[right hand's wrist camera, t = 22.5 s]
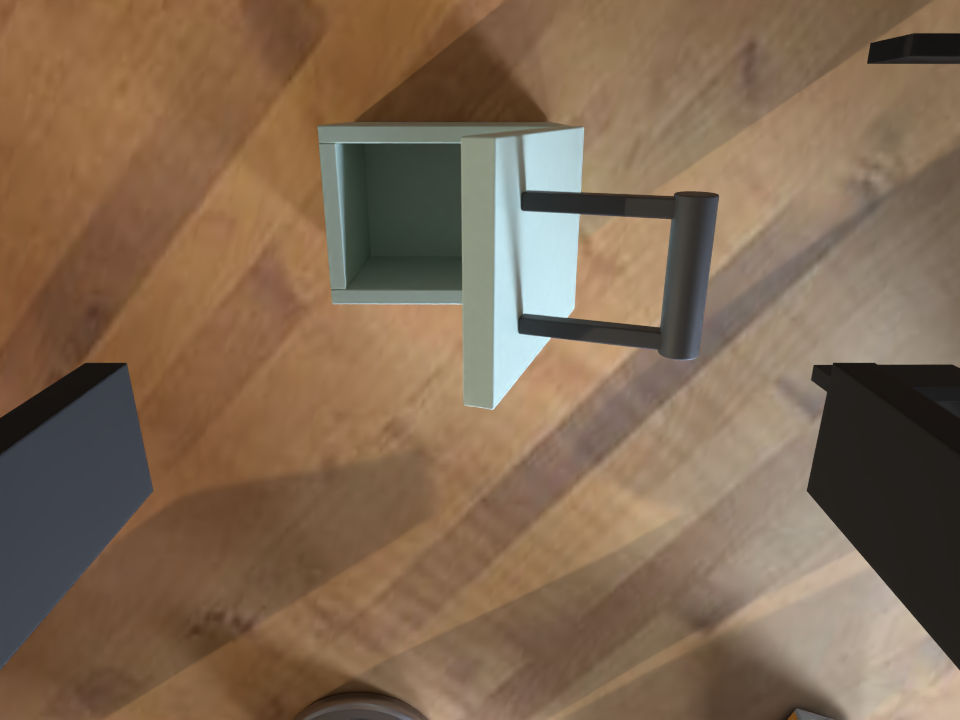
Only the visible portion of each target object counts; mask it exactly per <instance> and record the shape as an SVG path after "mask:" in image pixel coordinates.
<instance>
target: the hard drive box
mask: <svg viewBox="0 0 960 720" xmlns="http://www.w3.org/2000/svg"><path fill="white" fill-rule="evenodd" d="M788 720H834V719H831V718H827V717H824V716H821V715H817V714H814V713H811V712H808V711H804V710H801V709H796V710H795V711H794V712H793V713H792V714H791V716H790V717H789V718H788Z"/></svg>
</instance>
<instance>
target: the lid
mask: <svg viewBox="0 0 960 720" xmlns="http://www.w3.org/2000/svg"><path fill="white" fill-rule="evenodd" d="M583 140H584V127H583V126H557V127H547V128H537V129H527V130H517V131H508V132H498V133H488V134H478V135H468V136H462V137H461V201H462V312H463V404H464V405H466V406H473V407H479V408H486V409H494V408H495V407H496V406H497V404H498V403H499V402H500V401H501V399H502V398H503V397H504V396H505V394H506V393H507V392H508V391H509V389H510V388H511V387H512V386H513V384H514V383H515V382H516V381H517V379H518V378H519V377H520V376H521V374H522V373H523V372H524V371H525V369H526V368H527V367H528V366H529V364H530V363H531V362H532V361H533V359H534V358H535V357H536V356H537V354H538V353H539V352H540V351H541V349H542V348H543V347H544V346H545V344H546V343H547V342H548V341H549V339H550V338H558V339H567V340H575V341H584V342H593V343H602V344H610V345H619V346H628V347H636V348H645V349H654V350H658V353H659V354H660V355H662V356H664V357H666V358H670V359H675V360H691V359H695V358H697V357H698V355H699V348H700V341H701V333H702V325H703V317H704V310H705V302H706V294H707V286H708V279H709V271H710V263H711V255H712V247H713V240H714V232H715V224H716V216H717V209H718V201H719V195H718V194H715V193H710V192H696V191H685V192H677V193H675V194H674V196H654V195H630V194H607V193H583V192H581V177H582V159H583ZM579 214H585V215H604V216H623V217H642V218H661V219H672V220H671V230H670V239H669V249H668V259H667V268H666V278H665V287H664V297H663V306H662V316H661V326H660V328H659V327H650V326H640V325H631V324H621V323H611V322H602V321H592V320H583V319H573V318H567V317H568V316H569V314H570V313H571V312H572V311H573V309H574V305H575V287H576V268H577V250H578V232H579Z"/></svg>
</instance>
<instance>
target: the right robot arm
mask: <svg viewBox="0 0 960 720" xmlns="http://www.w3.org/2000/svg"><path fill="white" fill-rule="evenodd" d="M152 492H153V487H152V483H151V478H150V473H149V468H148V463H147V458H146V454H145V449H144V444H143V439H142V434H141V430H140V425H139V420H138V415H137V410H136V405H135V401H134V396H133V391H132V386H131V381H130V377H129V372H128V367H127V363H85V364H83V365H82V366H80V367H78V368H77V369H75V370H74V371H72V372H71V373H69V374H68V375H66V376H65V377H63V378H61V379H60V380H58V381H57V382H55V383H54V384H52V385H51V386H49V387H48V388H46V389H44V390H43V391H41V392H40V393H38V394H37V395H35V396H34V397H32V398H30V399H29V400H27V401H26V402H24V403H23V404H21V405H20V406H18V407H17V408H15V409H13V410H12V411H10V412H9V413H7V414H6V415H4V416H3V417H1V418H0V670H1V669H2V668H3V666H4V665H5V664H6V663H7V662H8V660H9V659H10V658H11V657H12V656H13V655H14V653H15V652H16V651H17V650H18V649H19V648H20V646H21V645H22V644H23V643H24V642H25V641H26V639H27V638H28V637H29V636H30V635H31V634H32V632H33V631H34V630H35V629H36V628H37V627H38V625H39V624H40V623H41V622H42V621H43V619H44V618H45V617H46V616H47V615H48V614H49V612H50V611H51V610H52V609H53V608H54V607H55V605H56V604H57V603H58V602H59V601H60V600H61V598H62V597H63V596H64V595H65V594H66V593H67V591H68V590H69V589H70V588H71V587H72V585H73V584H74V583H75V582H76V581H77V580H78V578H79V577H80V576H81V575H82V574H83V573H84V571H85V570H86V569H87V568H88V567H89V566H90V564H91V563H92V562H93V561H94V560H95V559H96V557H97V556H98V555H99V554H100V553H101V552H102V550H103V549H104V548H105V547H106V546H107V544H108V543H109V542H110V541H111V540H112V539H113V537H114V536H115V535H116V534H117V533H118V532H119V530H120V529H121V528H122V527H123V526H124V525H125V523H126V522H127V521H128V520H129V519H130V518H131V516H132V515H133V514H134V513H135V512H136V510H137V509H138V508H139V507H140V506H141V505H142V503H143V502H144V501H145V500H146V499H147V498H148V496H149V495H150V494H151V493H152ZM807 492H808V493H809V494H810V495H811V496H812V498H813V499H814V500H815V501H816V502H817V503H818V505H819V506H820V507H821V508H822V509H823V510H824V512H825V513H826V514H827V515H828V516H829V518H830V519H831V520H832V521H833V522H834V523H835V525H836V526H837V527H838V528H839V529H840V530H841V532H842V533H843V534H844V535H845V536H846V537H847V539H848V540H849V541H850V542H851V543H852V544H853V546H854V547H855V548H856V549H857V550H858V552H859V553H860V554H861V555H862V556H863V557H864V559H865V560H866V561H867V562H868V563H869V564H870V566H871V567H872V568H873V569H874V570H875V571H876V573H877V574H878V575H879V576H880V577H881V578H882V580H883V581H884V582H885V583H886V584H887V585H888V587H889V588H890V589H891V590H892V591H893V593H894V594H895V595H896V596H897V597H898V598H899V600H900V601H901V602H902V603H903V604H904V605H905V607H906V608H907V609H908V610H909V611H910V612H911V614H912V615H913V616H914V617H915V618H916V619H917V621H918V622H919V623H920V624H921V625H922V627H923V628H924V629H925V630H926V631H927V632H928V634H929V635H930V636H931V637H932V638H933V639H934V641H935V642H936V643H937V644H938V645H939V646H940V648H941V649H942V650H943V651H944V652H945V653H946V655H947V656H948V657H949V658H950V659H951V660H952V662H953V663H954V664H955V665H956V666H957V668H958V669H959V670H960V418H959V417H957V416H956V415H954V414H953V413H951V412H950V411H948V410H947V409H945V408H943V407H942V406H940V405H939V404H937V403H936V402H934V401H933V400H931V399H930V398H928V397H926V396H925V395H923V394H922V393H920V392H919V391H917V390H916V389H914V388H912V387H911V386H909V385H908V384H906V383H905V382H903V381H902V380H900V379H899V378H897V377H895V376H894V375H892V374H891V373H889V372H888V371H886V370H885V369H883V368H882V367H880V366H878V365H877V364H875V363H833V367H832V372H831V377H830V381H829V386H828V391H827V396H826V401H825V405H824V410H823V415H822V420H821V425H820V430H819V434H818V439H817V444H816V449H815V454H814V458H813V463H812V468H811V473H810V478H809V483H808V487H807ZM294 720H428V719H427V718H426V717H425V716H424V715H423V714H422V713H420V712H419V711H418V710H416V709H415V708H413V707H411V706H410V705H408V704H406V703H404V702H402V701H399V700H397V699H394V698H391V697H388V696H383V695H379V694H372V693H345V694H339V695H334V696H330V697H327V698H324V699H322V700H319V701H317V702H315V703H313V704H311V705H310V706H308V707H307V708H305V709H304V710H303V711H301V712H300V713H299V714H298V715H297V716H296V717H295V718H294Z"/></svg>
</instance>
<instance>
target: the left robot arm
mask: <svg viewBox="0 0 960 720" xmlns="http://www.w3.org/2000/svg"><path fill="white" fill-rule="evenodd" d="M867 64H960V33H913V34H909V35H905V36H900V37H896V38H891V39H887V40H882V41H878V42H873V43H871V45H870V50H869V56H868V62H867ZM878 366H880V367H882V368H883V369H885V370H886V371H888V372H889V373H891V374H892V375H894V376H895V377H897V378H899V379H900V380H902V381H903V382H905V383H906V384H908V385H909V386H911V387H912V388H914V389H916V390H917V391H919V392H920V393H922V394H923V395H925V396H926V397H928V398H930V399H931V400H933V401H934V402H936V403H937V404H939V405H940V406H942V407H943V408H945V409H947V410H948V411H950V412H951V413H953V414H954V415H956V416H957V417H959V418H960V368H958V367H956V366H954V365H878ZM832 367H833V365H814V366H813V372H812V378H811V380H812V381H813V382H814V383H816V384H817V385H818V386H820V387H821V388H823V389H824V390H825V391H828V386H829V381H830V377H831V372H832Z"/></svg>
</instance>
